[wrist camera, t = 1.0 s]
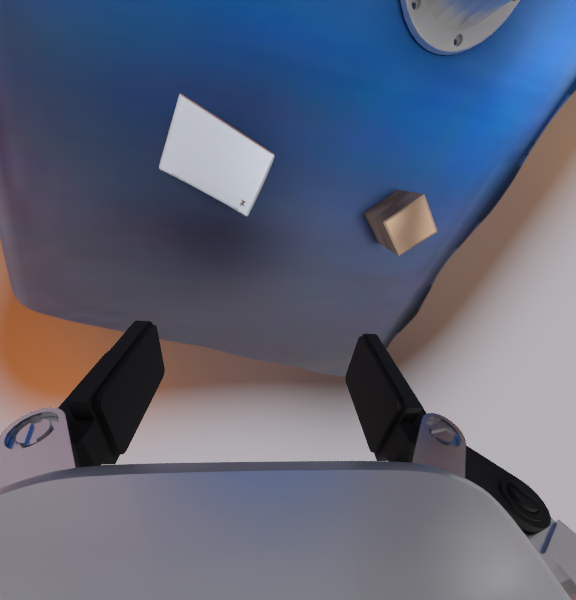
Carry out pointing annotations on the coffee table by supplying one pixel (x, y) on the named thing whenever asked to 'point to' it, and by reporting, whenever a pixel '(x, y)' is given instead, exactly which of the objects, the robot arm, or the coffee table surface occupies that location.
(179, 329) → the coffee table surface
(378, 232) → the walnut block
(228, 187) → the small box
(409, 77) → the coffee table surface
